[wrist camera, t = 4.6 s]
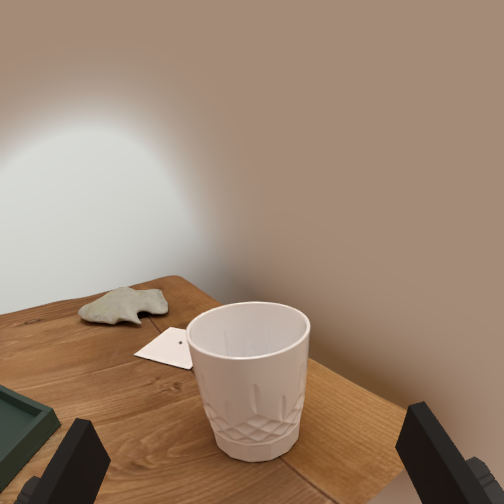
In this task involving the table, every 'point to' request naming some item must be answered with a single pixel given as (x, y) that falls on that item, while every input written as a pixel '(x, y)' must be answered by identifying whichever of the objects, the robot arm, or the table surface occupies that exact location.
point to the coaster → (169, 349)
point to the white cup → (251, 375)
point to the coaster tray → (21, 431)
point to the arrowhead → (124, 305)
